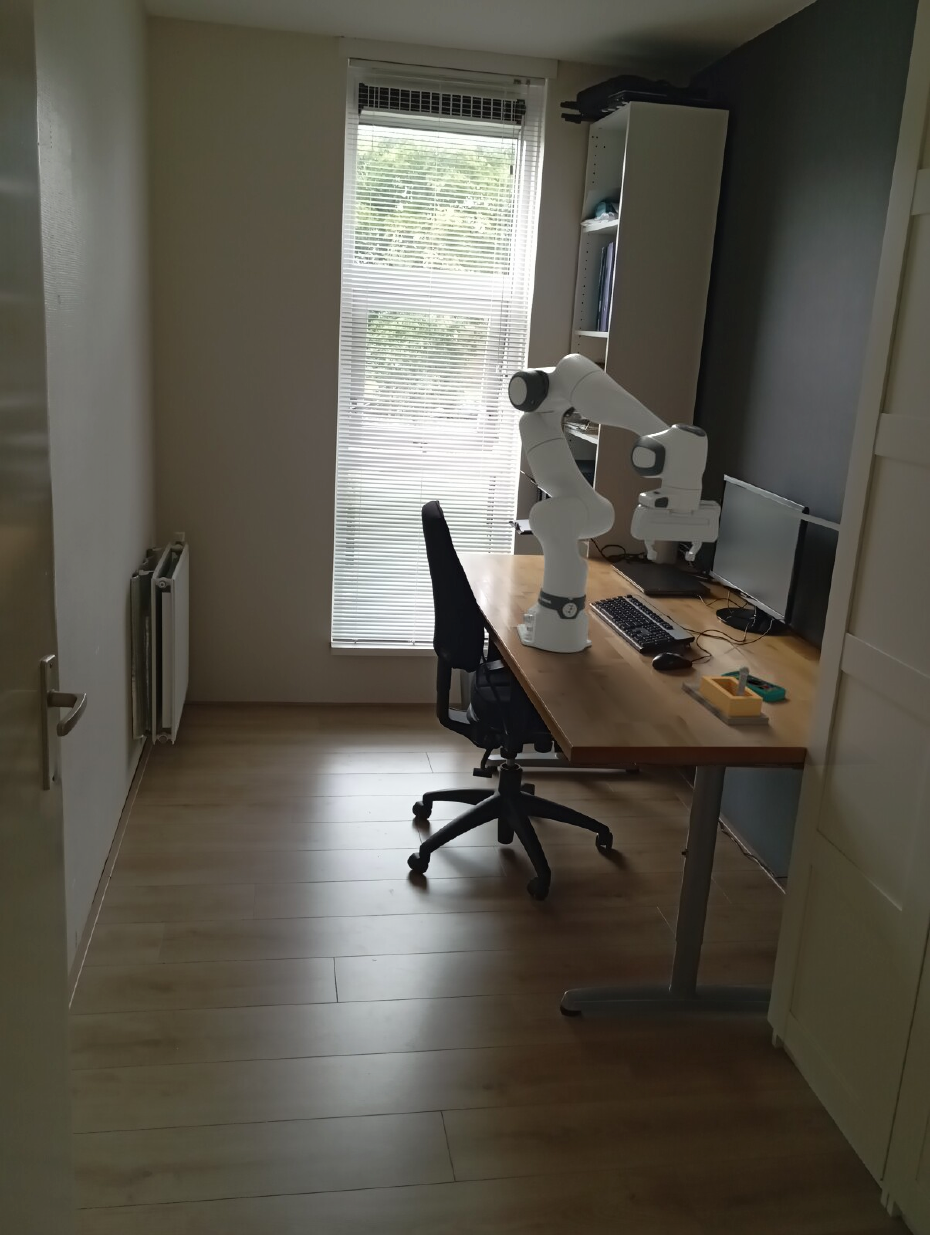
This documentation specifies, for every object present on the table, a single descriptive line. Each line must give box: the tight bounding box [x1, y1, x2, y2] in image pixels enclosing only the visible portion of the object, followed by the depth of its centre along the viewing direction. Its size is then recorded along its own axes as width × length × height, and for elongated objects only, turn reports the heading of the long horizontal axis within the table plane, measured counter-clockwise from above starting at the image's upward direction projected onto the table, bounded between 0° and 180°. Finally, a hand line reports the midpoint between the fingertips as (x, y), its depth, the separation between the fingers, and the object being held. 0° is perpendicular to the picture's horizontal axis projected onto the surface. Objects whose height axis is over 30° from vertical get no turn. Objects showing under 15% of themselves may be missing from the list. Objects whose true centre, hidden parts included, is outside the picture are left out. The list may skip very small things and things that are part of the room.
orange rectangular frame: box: [699, 675, 764, 716], centre depth 228 cm, size 14×8×4 cm, turn 14°
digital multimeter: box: [720, 670, 787, 703], centre depth 244 cm, size 7×15×3 cm, turn 37°
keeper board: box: [681, 665, 770, 726], centre depth 230 cm, size 22×10×12 cm, turn 15°
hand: (670, 559), depth 230 cm, fingers open, 8 cm apart
